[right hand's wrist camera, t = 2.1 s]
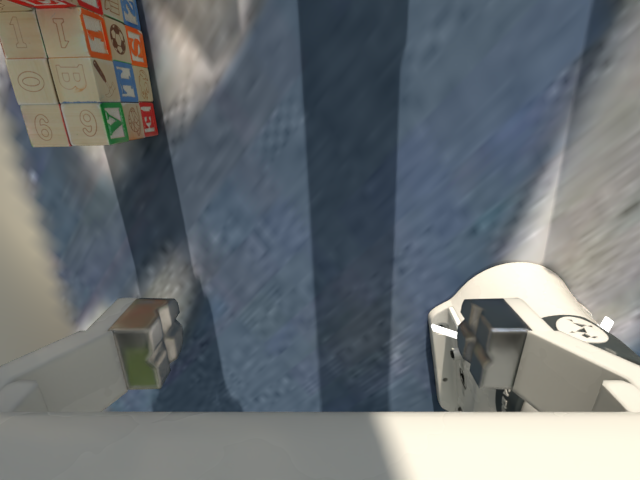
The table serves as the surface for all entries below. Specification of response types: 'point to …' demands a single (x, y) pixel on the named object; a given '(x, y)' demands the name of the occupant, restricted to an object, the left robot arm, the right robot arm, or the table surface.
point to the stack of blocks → (78, 70)
